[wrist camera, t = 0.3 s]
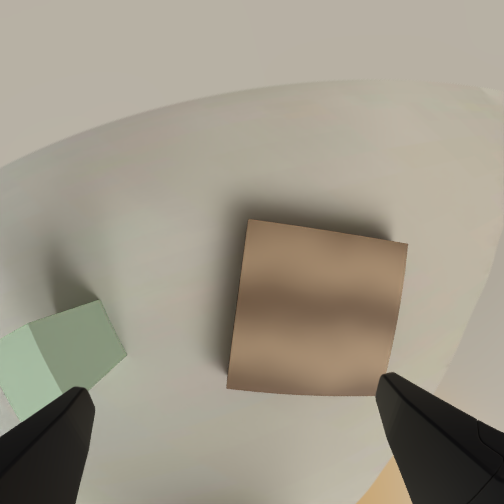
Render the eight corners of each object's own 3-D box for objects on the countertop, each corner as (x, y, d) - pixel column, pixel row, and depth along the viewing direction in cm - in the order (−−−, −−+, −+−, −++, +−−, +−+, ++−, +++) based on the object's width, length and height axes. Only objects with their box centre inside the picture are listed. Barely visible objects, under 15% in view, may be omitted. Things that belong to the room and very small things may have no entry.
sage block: (127, 355, 23) (70, 407, 13) (83, 372, 23) (20, 421, 13) (99, 299, 23) (27, 323, 13) (57, 320, 23) (-17, 348, 13)
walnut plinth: (368, 384, 24) (380, 395, 21) (227, 375, 23) (226, 388, 21) (393, 244, 24) (407, 243, 22) (247, 222, 24) (248, 218, 21)
